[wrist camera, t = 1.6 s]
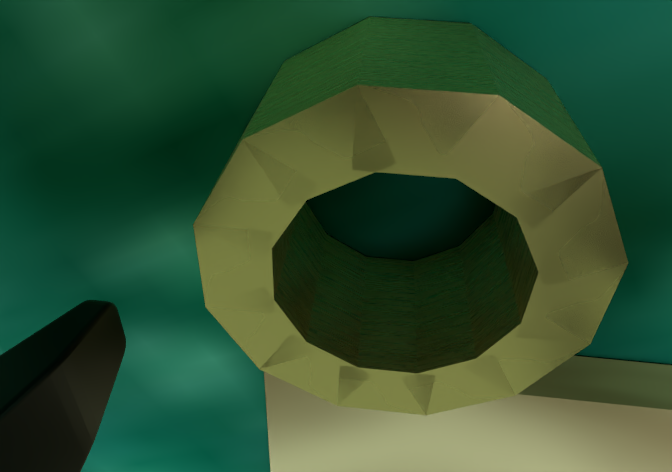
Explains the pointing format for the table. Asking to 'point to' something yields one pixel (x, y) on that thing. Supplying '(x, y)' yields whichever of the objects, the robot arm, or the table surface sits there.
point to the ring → (427, 273)
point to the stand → (489, 427)
